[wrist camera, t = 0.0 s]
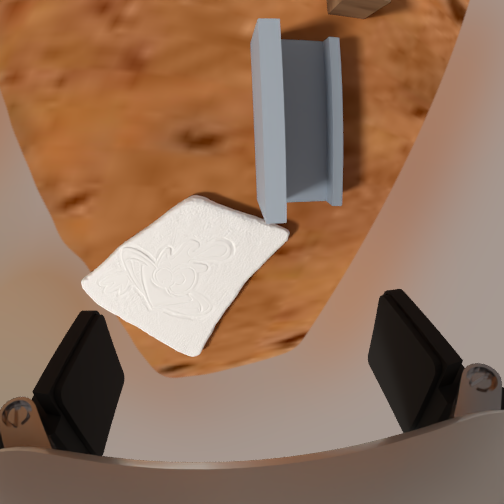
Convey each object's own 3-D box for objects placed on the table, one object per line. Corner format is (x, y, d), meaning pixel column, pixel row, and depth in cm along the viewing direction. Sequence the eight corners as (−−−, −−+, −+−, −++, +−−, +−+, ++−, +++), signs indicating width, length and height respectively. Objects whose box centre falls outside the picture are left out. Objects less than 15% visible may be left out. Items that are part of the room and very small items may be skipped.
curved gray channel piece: (250, 43, 32) (257, 18, 23) (327, 45, 33) (357, 25, 24) (257, 199, 40) (266, 223, 31) (330, 196, 41) (359, 219, 32)
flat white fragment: (195, 347, 51) (295, 231, 43) (194, 362, 48) (300, 242, 40) (81, 283, 44) (162, 140, 36) (73, 295, 41) (156, 143, 33)
